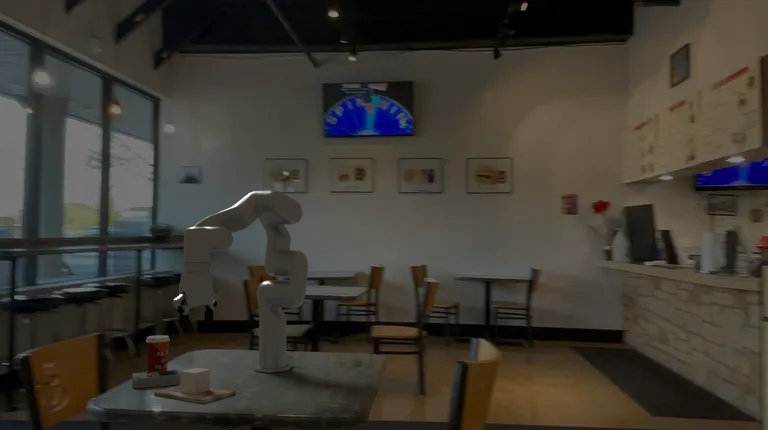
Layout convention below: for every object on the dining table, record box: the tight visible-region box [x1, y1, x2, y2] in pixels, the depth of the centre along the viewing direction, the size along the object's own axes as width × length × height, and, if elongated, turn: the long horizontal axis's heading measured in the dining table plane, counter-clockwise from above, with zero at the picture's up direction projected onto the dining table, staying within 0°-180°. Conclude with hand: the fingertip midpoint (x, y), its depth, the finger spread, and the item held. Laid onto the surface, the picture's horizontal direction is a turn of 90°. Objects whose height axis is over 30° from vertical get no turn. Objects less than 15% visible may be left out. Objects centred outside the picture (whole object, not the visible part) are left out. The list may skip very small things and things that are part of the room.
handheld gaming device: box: [131, 369, 182, 389], centre depth 204 cm, size 9×15×4 cm, turn 114°
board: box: [153, 385, 237, 405], centre depth 189 cm, size 13×20×1 cm, turn 60°
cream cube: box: [180, 367, 211, 394], centre depth 189 cm, size 6×6×6 cm
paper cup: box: [145, 334, 171, 372], centre depth 211 cm, size 8×8×14 cm
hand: (196, 326), depth 190 cm, fingers open, 9 cm apart
